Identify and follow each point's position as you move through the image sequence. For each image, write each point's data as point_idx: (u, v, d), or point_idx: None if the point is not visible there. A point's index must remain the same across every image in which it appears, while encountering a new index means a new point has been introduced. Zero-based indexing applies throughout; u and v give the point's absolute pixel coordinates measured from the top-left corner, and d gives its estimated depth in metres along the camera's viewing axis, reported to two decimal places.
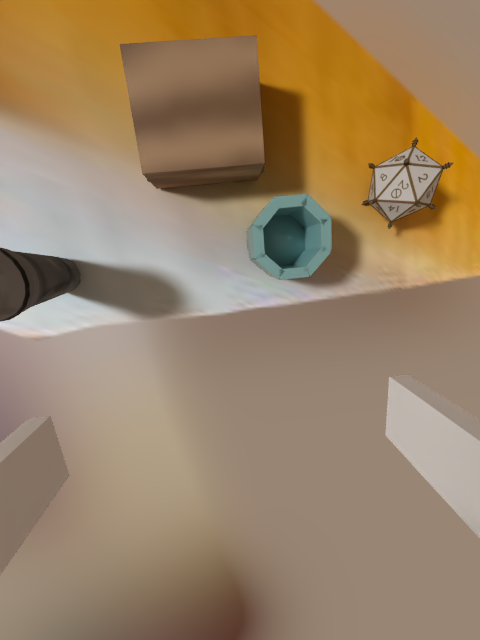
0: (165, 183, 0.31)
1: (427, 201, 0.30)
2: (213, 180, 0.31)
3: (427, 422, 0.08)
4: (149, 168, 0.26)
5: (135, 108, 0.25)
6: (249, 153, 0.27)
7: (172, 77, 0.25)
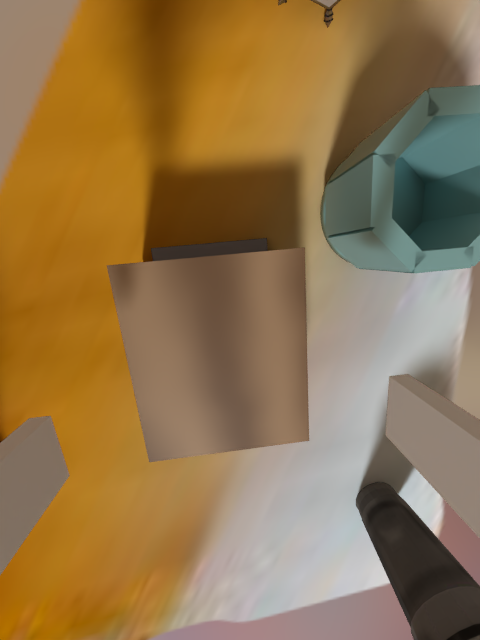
0: None
1: None
2: None
3: (427, 422, 0.08)
4: (302, 431, 0.17)
5: (225, 446, 0.17)
6: (287, 277, 0.15)
7: (182, 397, 0.16)
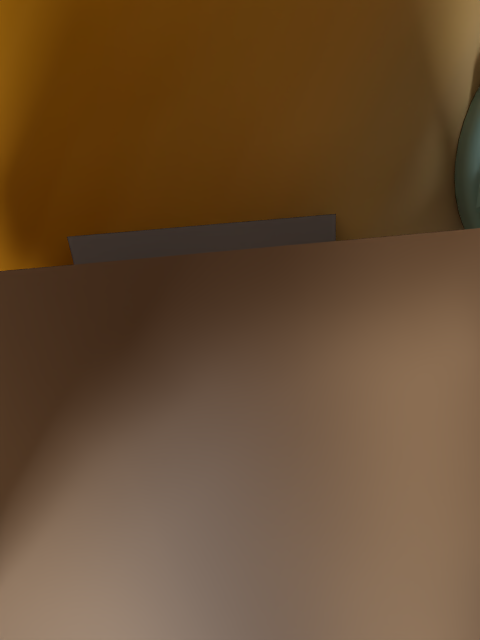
0: None
1: None
2: None
3: None
4: None
5: None
6: None
7: None
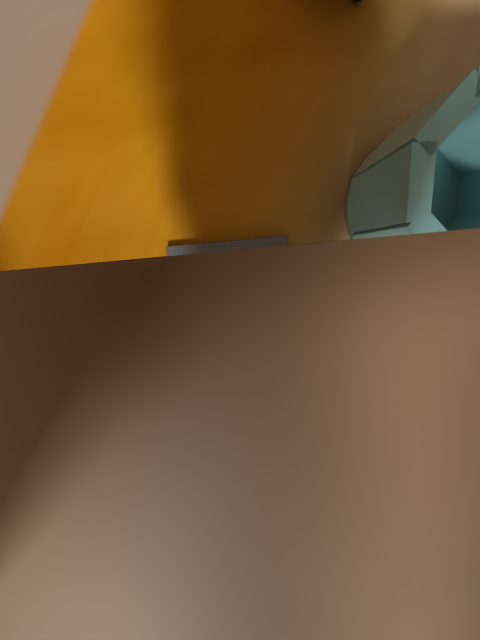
0: None
1: None
2: None
3: None
4: None
5: None
6: None
7: None
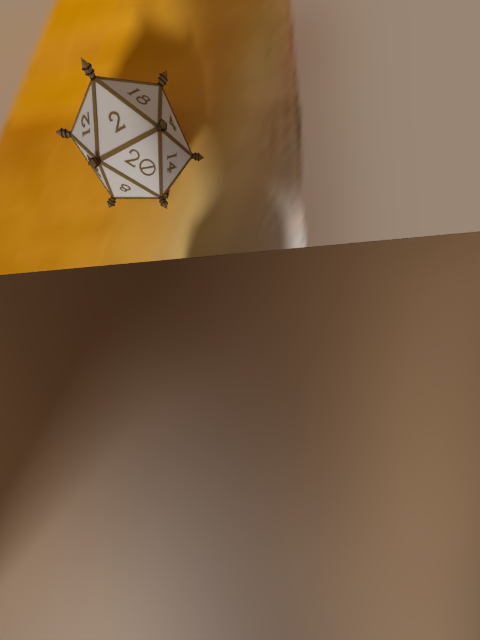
0: None
1: (155, 96, 0.16)
2: None
3: None
4: None
5: None
6: None
7: None
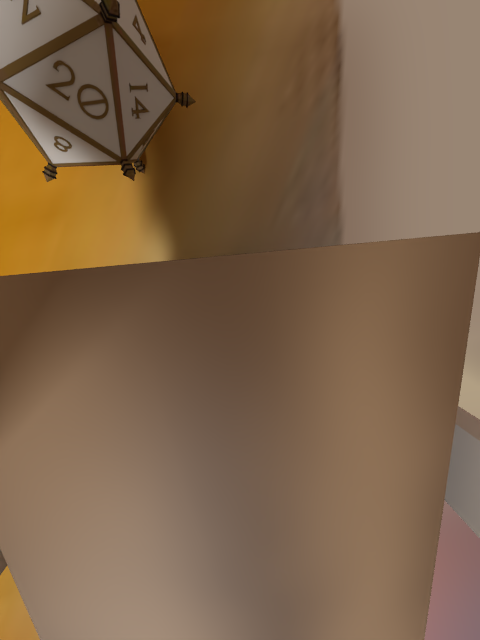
0: None
1: None
2: None
3: None
4: None
5: None
6: (421, 318, 0.05)
7: (140, 597, 0.07)
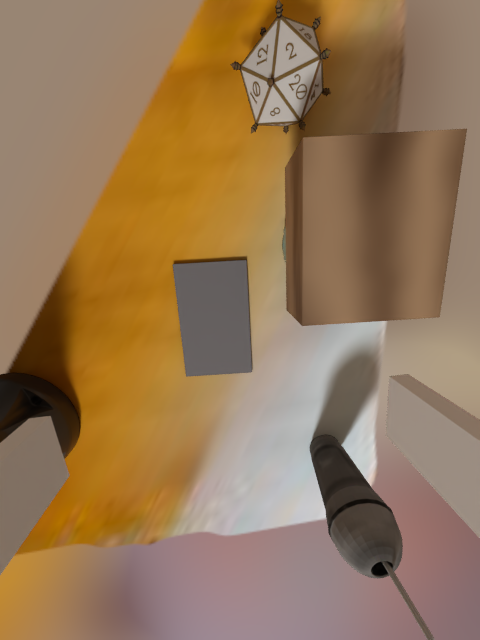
0: None
1: (313, 35, 0.21)
2: None
3: (428, 422, 0.08)
4: (435, 307, 0.20)
5: (367, 316, 0.20)
6: (447, 156, 0.17)
7: (340, 265, 0.19)
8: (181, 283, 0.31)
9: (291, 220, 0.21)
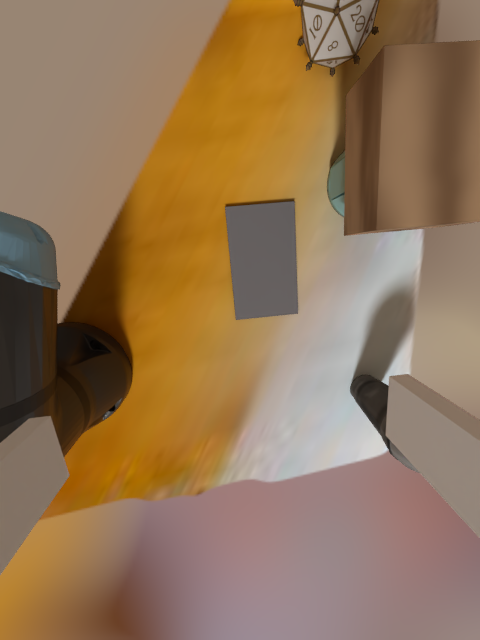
0: None
1: None
2: None
3: (427, 422, 0.08)
4: None
5: (434, 219, 0.22)
6: None
7: (412, 170, 0.21)
8: (232, 226, 0.33)
9: (357, 139, 0.23)
